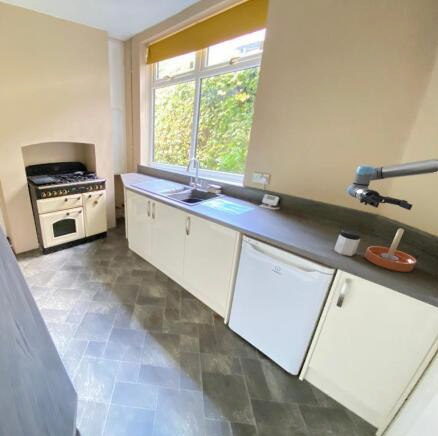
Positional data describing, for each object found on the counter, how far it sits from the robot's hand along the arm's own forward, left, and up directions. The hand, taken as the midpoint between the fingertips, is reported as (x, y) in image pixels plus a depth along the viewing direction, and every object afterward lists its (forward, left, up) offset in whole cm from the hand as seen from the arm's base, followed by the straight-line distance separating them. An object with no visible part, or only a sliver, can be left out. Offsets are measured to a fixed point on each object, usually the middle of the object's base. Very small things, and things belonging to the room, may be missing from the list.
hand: (393, 206), depth 117 cm
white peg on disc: (-4, +9, -26) cm, 28 cm away
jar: (+13, +9, -27) cm, 31 cm away
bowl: (-4, +9, -27) cm, 29 cm away
